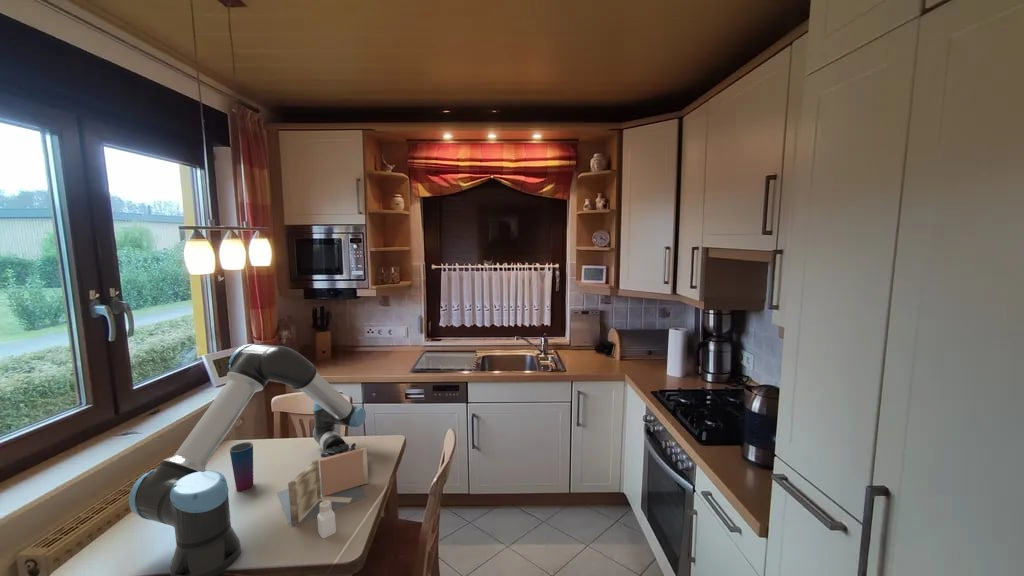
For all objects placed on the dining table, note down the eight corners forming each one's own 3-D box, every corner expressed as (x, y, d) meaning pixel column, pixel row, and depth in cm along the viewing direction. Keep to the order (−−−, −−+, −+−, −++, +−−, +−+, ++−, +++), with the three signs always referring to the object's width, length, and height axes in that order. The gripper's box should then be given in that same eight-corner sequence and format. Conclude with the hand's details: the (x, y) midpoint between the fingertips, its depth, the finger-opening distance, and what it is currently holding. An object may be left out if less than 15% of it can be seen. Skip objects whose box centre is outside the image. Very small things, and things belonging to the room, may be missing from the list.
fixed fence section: (316, 496, 137) (314, 459, 136) (322, 496, 137) (319, 460, 135) (289, 525, 123) (286, 484, 122) (296, 525, 123) (292, 485, 122)
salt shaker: (331, 526, 123) (329, 497, 122) (336, 533, 120) (334, 503, 119) (317, 533, 120) (315, 503, 119) (322, 540, 117) (320, 509, 116)
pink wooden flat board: (322, 497, 136) (320, 461, 134) (321, 494, 137) (319, 458, 136) (368, 482, 144) (367, 449, 142) (367, 480, 145) (365, 446, 144)
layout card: (290, 528, 122) (290, 526, 122) (276, 493, 139) (276, 492, 139) (366, 497, 137) (366, 496, 137) (346, 469, 154) (346, 468, 154)
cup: (230, 487, 143) (227, 447, 141) (253, 479, 148) (249, 439, 146) (236, 495, 139) (232, 453, 137) (258, 486, 143) (255, 446, 142)
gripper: (350, 447, 165) (372, 473, 147) (315, 459, 156) (334, 487, 138) (349, 430, 164) (371, 453, 146) (314, 440, 156) (333, 466, 138)
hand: (353, 470), depth 142 cm, fingers closed
